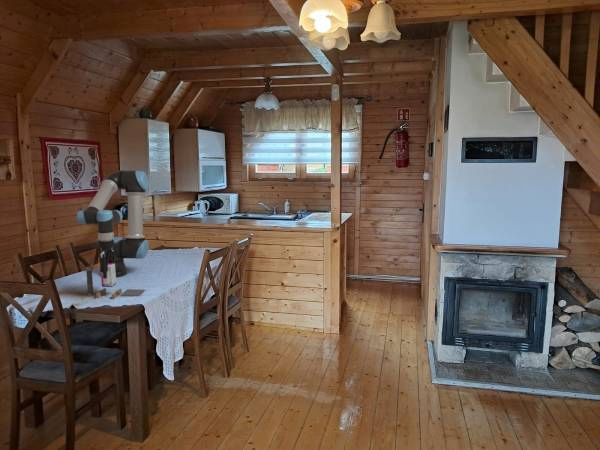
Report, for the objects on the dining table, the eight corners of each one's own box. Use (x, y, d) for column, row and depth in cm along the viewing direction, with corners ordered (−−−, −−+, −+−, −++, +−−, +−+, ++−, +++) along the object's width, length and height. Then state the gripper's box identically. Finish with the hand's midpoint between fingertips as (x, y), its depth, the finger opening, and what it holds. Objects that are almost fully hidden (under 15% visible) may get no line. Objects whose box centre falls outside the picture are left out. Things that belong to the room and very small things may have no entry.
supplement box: (116, 283, 244) (115, 263, 242) (112, 287, 238) (111, 266, 236) (105, 283, 244) (104, 262, 242) (101, 287, 238) (99, 266, 236)
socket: (93, 292, 246) (91, 268, 244) (121, 293, 246) (120, 269, 244) (84, 298, 237) (82, 273, 234) (114, 299, 236) (112, 274, 234)
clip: (84, 271, 238) (84, 267, 238) (103, 263, 254) (103, 260, 254) (89, 271, 237) (89, 268, 237) (108, 263, 253) (108, 260, 253)
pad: (127, 290, 251) (127, 289, 251) (145, 290, 251) (145, 289, 251) (120, 296, 241) (120, 295, 241) (138, 296, 241) (138, 295, 241)
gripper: (105, 244, 227) (108, 287, 231) (120, 235, 245) (122, 276, 250) (90, 243, 227) (93, 287, 232) (106, 235, 245) (109, 276, 250)
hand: (108, 281), depth 241 cm, fingers closed on supplement box, 6 cm apart
